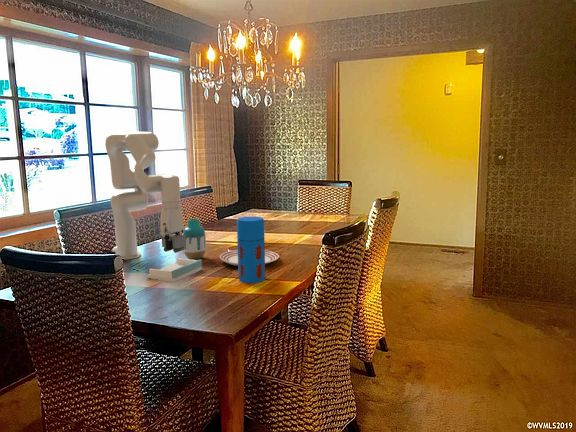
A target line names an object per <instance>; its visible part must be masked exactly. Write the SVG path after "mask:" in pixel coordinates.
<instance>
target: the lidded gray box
mask: <svg viewBox="0 0 576 432" xmlns="http://www.w3.org/2000/svg"><path fill="white" fill-rule="evenodd" d="M167 236H168V237H169V234H168V235H167ZM171 240H172V245H173V250H172V251H173V253H175V254H177V253H179V252H182V251H184V249H185V247H184V246H186V241H185V235H183V234H182V235H176V234H175V233H172V237H171ZM161 247H162V248H163V251H164V252H171V250H166V244H165V240H164V238H163V237H162V236H161Z"/></svg>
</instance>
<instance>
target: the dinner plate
mask: <svg viewBox="0 0 576 432" xmlns="http://www.w3.org/2000/svg"><path fill="white" fill-rule="evenodd" d="M279 258H280V255H279V254H278V253H276V252H274V251H270V250H266V249H265V265H268V264H271V263H272V262H275V261H277V260H278V259H279ZM219 259H220V260H221V261H223V262H224V263H227V264H229V265H232V266H235V267H238V249H235V250H230V251H226V252H222V253H221V254H220V255H219Z"/></svg>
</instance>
